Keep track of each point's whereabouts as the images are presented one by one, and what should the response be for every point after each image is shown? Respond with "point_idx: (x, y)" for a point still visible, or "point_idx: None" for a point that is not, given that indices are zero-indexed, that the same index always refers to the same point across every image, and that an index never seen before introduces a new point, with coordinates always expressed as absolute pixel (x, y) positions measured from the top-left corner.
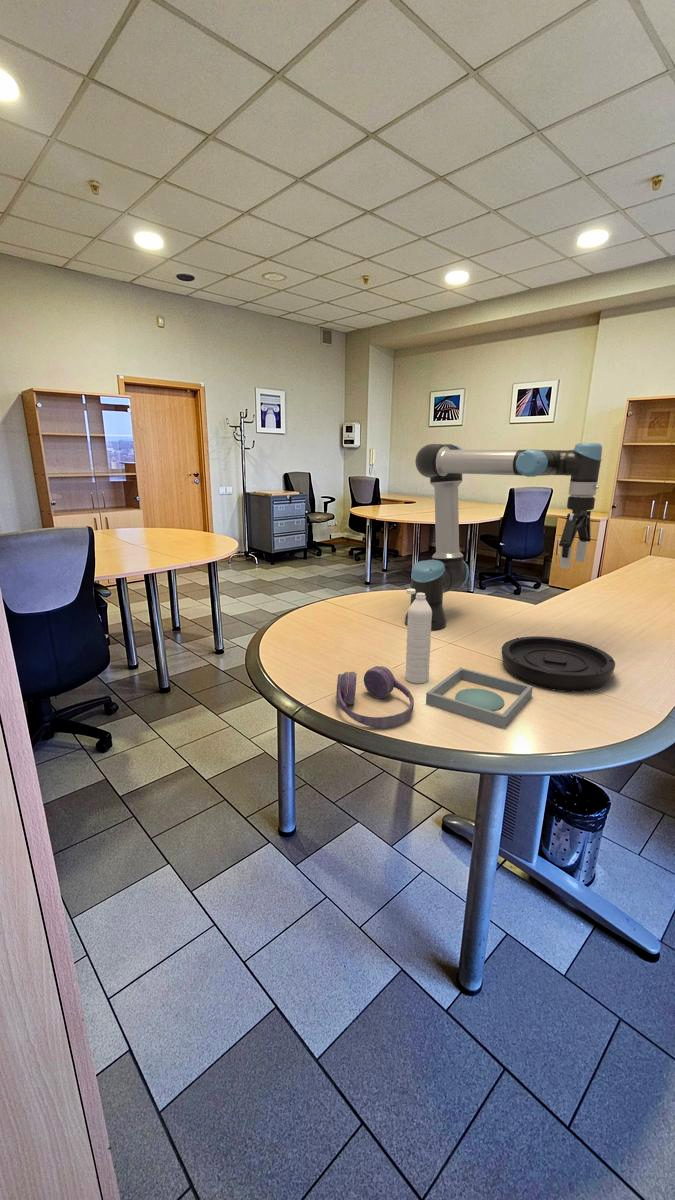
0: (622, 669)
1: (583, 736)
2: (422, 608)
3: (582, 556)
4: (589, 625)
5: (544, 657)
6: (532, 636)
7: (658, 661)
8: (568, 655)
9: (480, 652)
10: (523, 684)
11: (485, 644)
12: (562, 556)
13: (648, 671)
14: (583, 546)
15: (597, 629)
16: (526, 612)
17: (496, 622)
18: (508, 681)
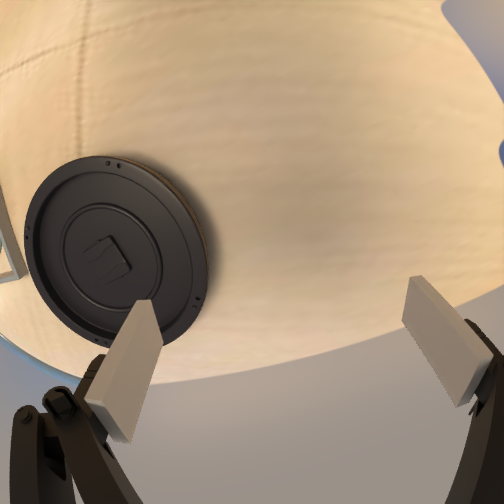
0: (222, 326)
1: (25, 339)
2: None
3: (417, 330)
4: (441, 188)
5: (91, 246)
6: (150, 175)
7: (309, 348)
8: (149, 267)
9: (82, 106)
10: (13, 268)
11: (128, 78)
12: (96, 361)
13: (248, 352)
14: (448, 371)
15: (426, 211)
16: (432, 40)
17: (303, 6)
18: (4, 249)
